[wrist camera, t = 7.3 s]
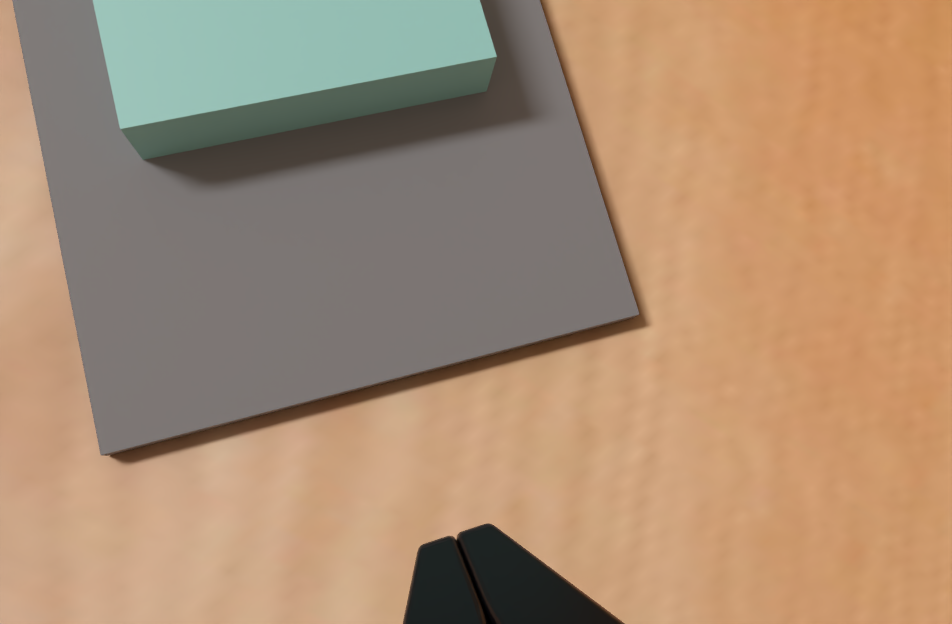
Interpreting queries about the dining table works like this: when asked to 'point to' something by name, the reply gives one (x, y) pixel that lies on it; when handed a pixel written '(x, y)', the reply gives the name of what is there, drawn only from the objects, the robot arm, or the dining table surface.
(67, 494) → the dining table surface
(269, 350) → the mat
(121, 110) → the teal board
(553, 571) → the robot arm
